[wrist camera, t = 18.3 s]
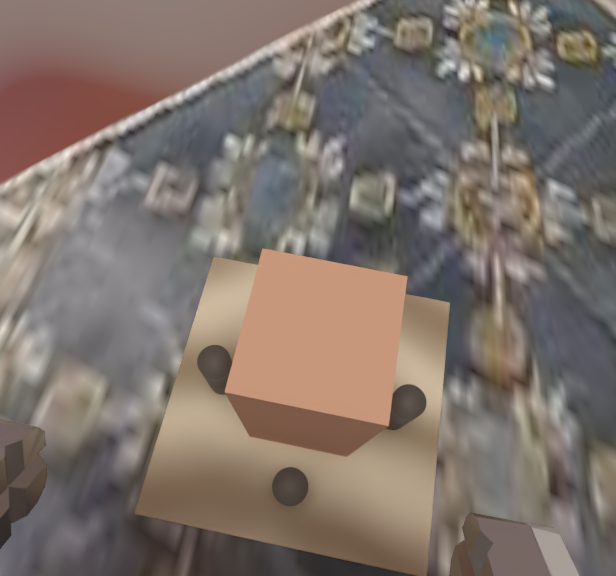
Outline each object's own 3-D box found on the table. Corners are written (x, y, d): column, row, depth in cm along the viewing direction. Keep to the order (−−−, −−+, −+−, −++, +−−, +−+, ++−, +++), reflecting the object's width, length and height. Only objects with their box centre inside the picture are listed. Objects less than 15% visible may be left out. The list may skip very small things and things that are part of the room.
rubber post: (346, 457, 25) (388, 426, 14) (249, 436, 25) (224, 392, 15) (361, 361, 27) (407, 276, 16) (271, 343, 27) (262, 248, 17)
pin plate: (418, 573, 24) (453, 592, 19) (142, 512, 24) (105, 515, 19) (442, 311, 30) (474, 273, 24) (217, 267, 30) (203, 220, 25)
